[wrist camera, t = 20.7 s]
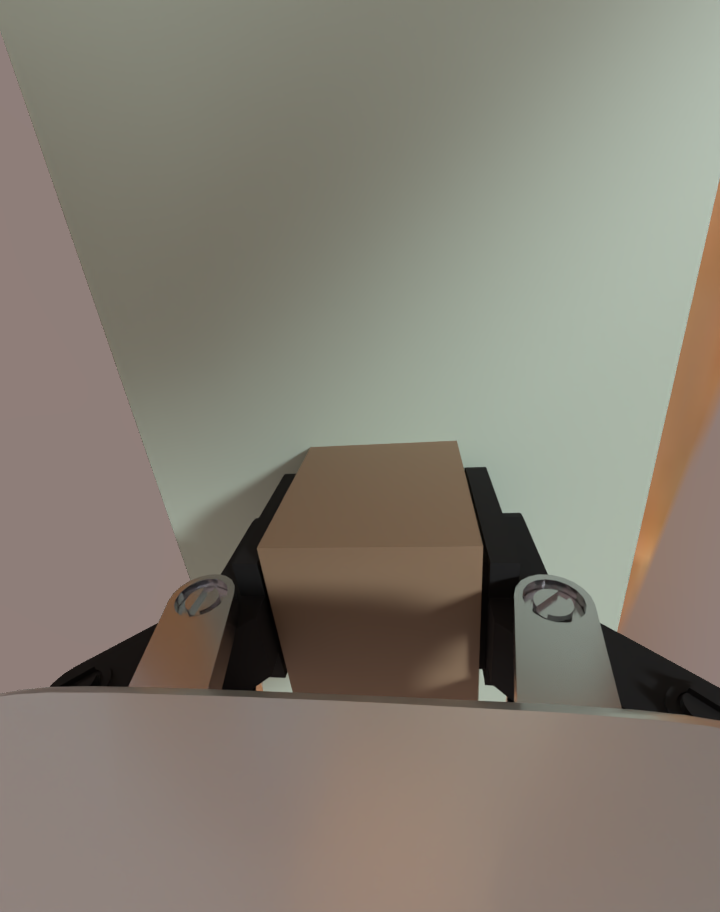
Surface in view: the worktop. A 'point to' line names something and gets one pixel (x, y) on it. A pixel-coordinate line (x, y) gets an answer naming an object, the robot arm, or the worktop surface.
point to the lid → (387, 286)
